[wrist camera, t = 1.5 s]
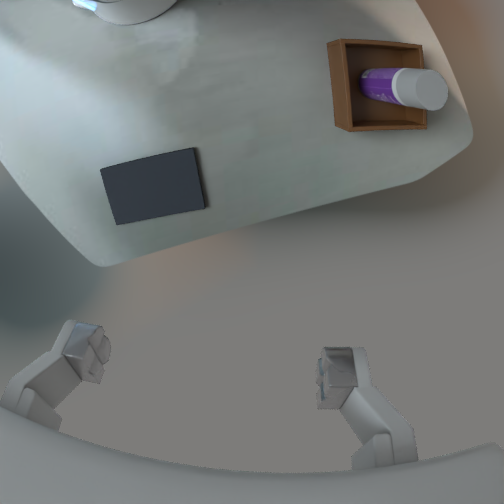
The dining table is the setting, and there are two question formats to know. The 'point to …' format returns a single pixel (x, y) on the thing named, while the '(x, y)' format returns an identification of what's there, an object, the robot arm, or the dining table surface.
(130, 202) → the pad
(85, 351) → the robot arm
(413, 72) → the container
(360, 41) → the wooden tray
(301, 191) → the dining table surface
